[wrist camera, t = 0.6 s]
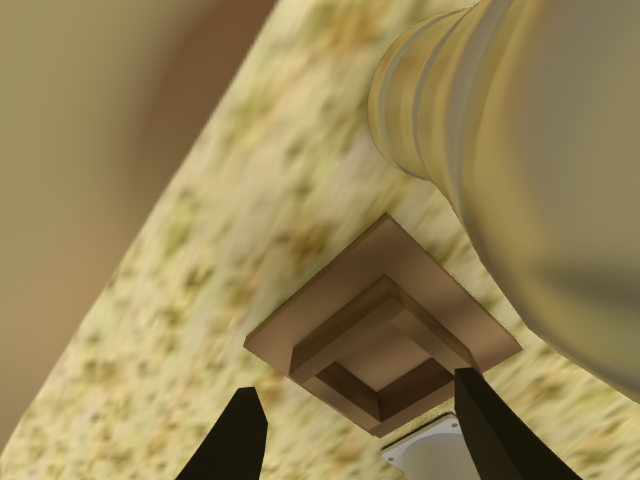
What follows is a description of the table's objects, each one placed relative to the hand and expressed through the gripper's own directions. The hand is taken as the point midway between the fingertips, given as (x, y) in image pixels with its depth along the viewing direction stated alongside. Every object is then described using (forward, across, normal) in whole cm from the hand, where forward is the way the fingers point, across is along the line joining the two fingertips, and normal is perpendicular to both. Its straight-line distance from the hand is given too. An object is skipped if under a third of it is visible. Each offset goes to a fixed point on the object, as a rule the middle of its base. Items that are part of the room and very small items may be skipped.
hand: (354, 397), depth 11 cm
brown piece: (+10, -1, +7) cm, 12 cm away
